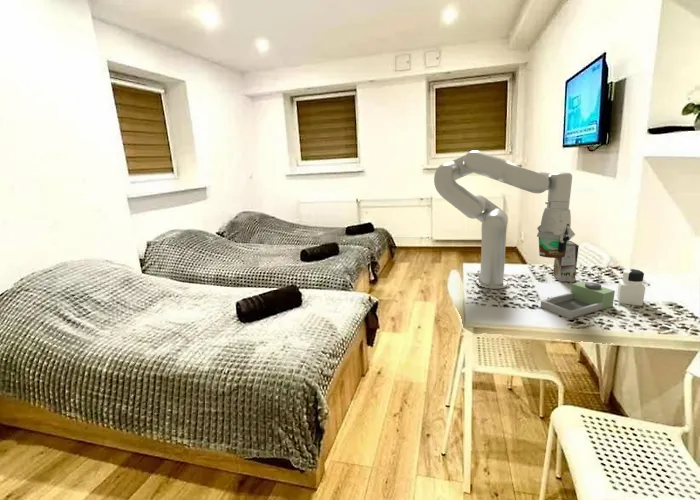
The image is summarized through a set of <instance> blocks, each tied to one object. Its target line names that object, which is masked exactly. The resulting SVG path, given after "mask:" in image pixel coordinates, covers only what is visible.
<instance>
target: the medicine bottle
mask: <svg viewBox="0 0 700 500" xmlns="http://www.w3.org/2000/svg"><path fill="white" fill-rule="evenodd" d="M622 272H623V273H622V276H621V278H622V279H620V278H619V280H618V286H617V291H616V292H617V294H616V298H617V302H618V304H624V305H633V306H639V307H643V305H644V300H645V299H644V298H645V293H646V292H645V291H646V286H645V284H644V282H643V281H644V278H645V277H644V275H645V273H644V271H641V270H640V269H635V268H629V269H623V271H622Z"/></svg>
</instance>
